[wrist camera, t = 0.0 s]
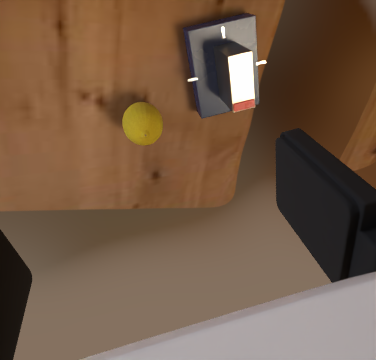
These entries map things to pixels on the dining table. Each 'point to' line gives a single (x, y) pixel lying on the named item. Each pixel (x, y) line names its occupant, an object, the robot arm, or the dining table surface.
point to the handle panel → (205, 60)
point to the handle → (235, 76)
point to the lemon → (142, 123)
